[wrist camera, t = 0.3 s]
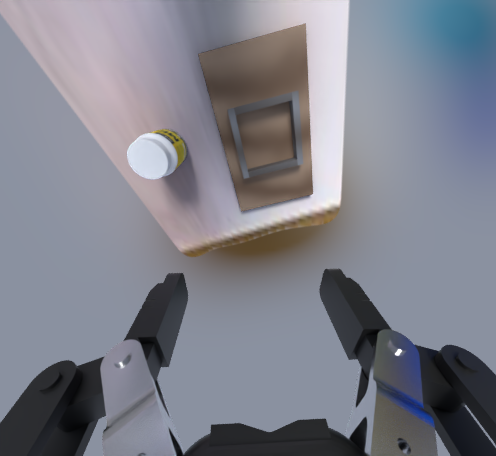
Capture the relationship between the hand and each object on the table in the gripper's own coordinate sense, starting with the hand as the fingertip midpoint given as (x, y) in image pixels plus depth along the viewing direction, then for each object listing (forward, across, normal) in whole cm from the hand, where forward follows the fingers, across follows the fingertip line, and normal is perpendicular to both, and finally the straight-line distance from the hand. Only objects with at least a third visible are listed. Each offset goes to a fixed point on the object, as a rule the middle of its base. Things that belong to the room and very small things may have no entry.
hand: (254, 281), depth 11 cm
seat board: (+22, -3, -6) cm, 23 cm away
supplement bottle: (+21, +10, -5) cm, 24 cm away
